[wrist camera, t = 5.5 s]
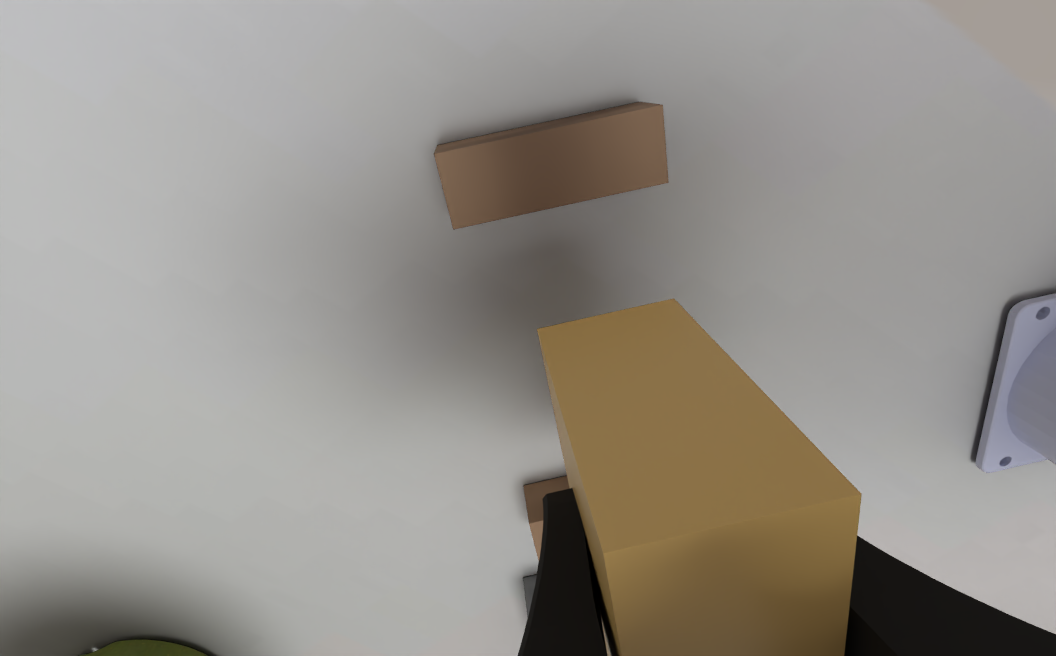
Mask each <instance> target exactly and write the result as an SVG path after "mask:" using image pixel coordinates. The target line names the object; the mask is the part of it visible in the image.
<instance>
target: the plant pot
mask: <svg viewBox="0 0 1056 656" xmlns="http://www.w3.org/2000/svg"><path fill="white" fill-rule="evenodd" d="M80 656H207V655H205V654H203V653H202V652H199V651H197V650H194V649H192V648H189V647H186V646H183V645H179V644H175V643H170V642H164V641H156V640H124V641H118V642H114V643H111V644H110V645H108V646H106V647H104V648H102V649H99V650H97V651H95V652H92V653H89V654H86V655H80Z"/></svg>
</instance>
